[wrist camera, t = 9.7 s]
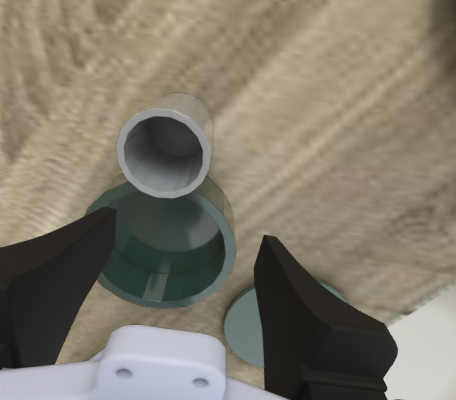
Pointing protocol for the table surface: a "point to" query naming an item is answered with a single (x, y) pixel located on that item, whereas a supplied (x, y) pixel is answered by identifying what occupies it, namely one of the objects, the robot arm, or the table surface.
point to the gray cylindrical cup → (167, 146)
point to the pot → (167, 244)
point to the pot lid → (251, 325)
